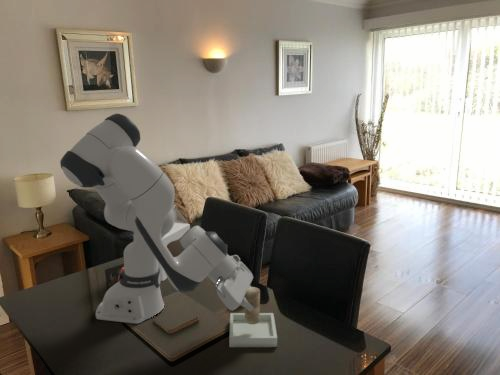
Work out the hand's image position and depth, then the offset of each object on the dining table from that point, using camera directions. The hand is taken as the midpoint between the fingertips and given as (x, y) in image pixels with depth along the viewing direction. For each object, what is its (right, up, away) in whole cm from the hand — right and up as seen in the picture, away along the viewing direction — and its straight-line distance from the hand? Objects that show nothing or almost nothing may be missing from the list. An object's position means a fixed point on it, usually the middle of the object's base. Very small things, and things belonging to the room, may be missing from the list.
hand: (254, 304), depth 124 cm
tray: (-1, -10, +3) cm, 10 cm away
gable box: (-38, +1, +50) cm, 62 cm away
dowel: (-1, -5, +1) cm, 5 cm away
